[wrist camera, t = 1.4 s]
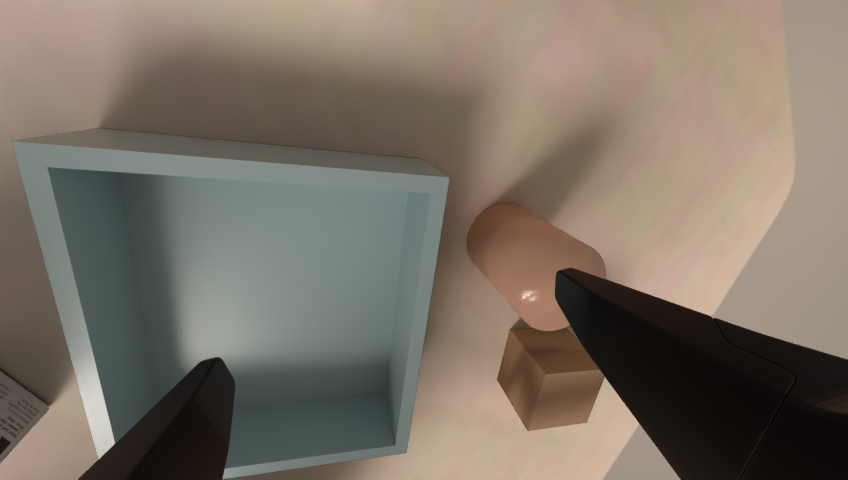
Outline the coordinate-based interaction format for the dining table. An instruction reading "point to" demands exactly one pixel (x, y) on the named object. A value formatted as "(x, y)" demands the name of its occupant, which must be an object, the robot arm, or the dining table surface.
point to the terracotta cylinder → (528, 261)
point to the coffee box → (16, 413)
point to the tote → (241, 284)
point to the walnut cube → (549, 378)
